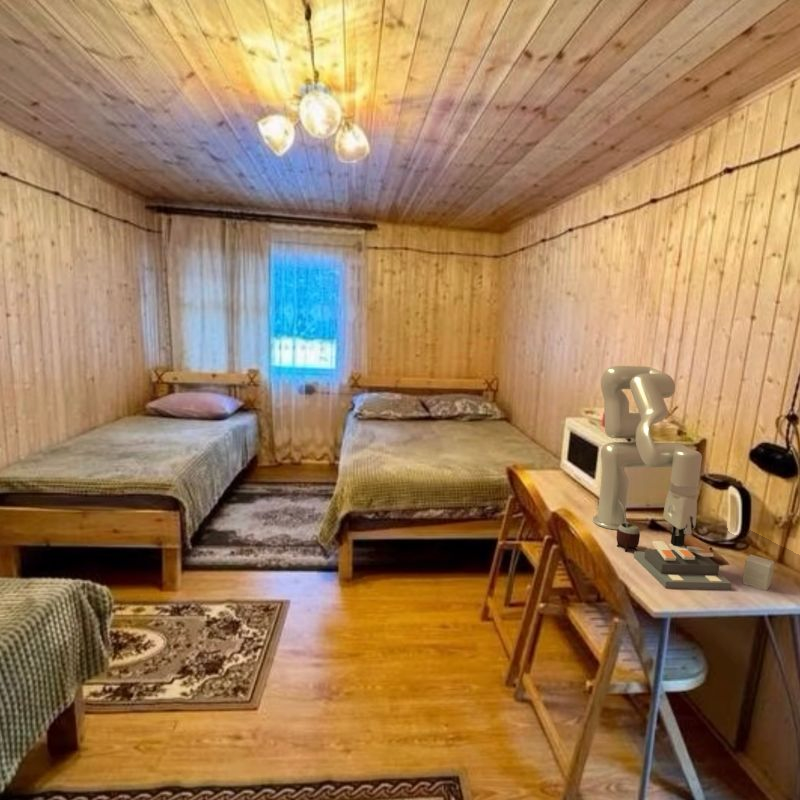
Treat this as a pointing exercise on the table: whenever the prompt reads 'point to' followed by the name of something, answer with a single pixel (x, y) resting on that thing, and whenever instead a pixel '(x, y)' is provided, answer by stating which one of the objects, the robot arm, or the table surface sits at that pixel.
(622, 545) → the mate gourd
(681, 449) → the robot arm
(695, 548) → the rocker
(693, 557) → the rocker middle
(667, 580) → the switch panel
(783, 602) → the table surface
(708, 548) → the sunglasses case
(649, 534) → the table surface
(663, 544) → the block
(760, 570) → the product box
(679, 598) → the table surface
